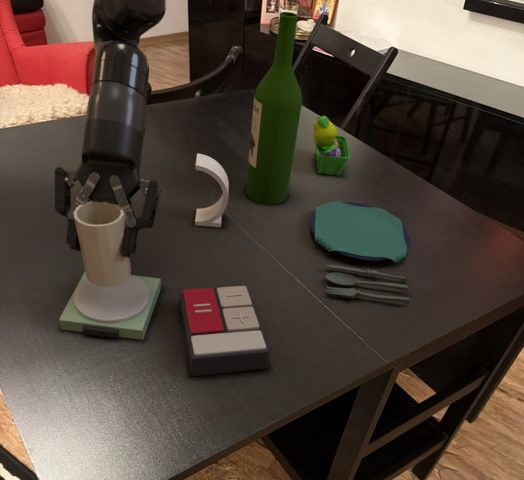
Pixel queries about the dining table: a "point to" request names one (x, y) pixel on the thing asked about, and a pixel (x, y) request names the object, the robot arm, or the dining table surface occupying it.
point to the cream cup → (102, 243)
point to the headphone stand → (214, 212)
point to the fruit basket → (329, 147)
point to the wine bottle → (275, 122)
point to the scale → (112, 308)
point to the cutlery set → (360, 243)
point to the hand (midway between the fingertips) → (100, 253)
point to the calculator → (222, 330)
